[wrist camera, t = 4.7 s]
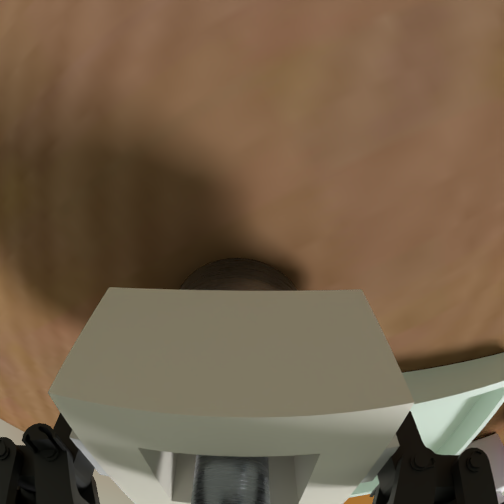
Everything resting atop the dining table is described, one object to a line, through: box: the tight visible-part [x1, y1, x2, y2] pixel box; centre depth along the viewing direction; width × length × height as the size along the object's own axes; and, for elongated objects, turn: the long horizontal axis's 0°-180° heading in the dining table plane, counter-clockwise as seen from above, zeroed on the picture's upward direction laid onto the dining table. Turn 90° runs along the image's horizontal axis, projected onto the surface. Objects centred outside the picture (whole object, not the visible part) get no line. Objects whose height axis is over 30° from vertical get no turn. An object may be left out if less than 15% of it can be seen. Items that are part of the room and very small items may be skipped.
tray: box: [349, 352, 504, 497], centre depth 20 cm, size 16×16×3 cm
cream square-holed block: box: [48, 287, 414, 504], centre depth 10 cm, size 9×8×4 cm
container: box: [460, 433, 504, 504], centre depth 20 cm, size 8×8×13 cm
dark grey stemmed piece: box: [180, 258, 297, 504], centre depth 10 cm, size 6×6×11 cm
